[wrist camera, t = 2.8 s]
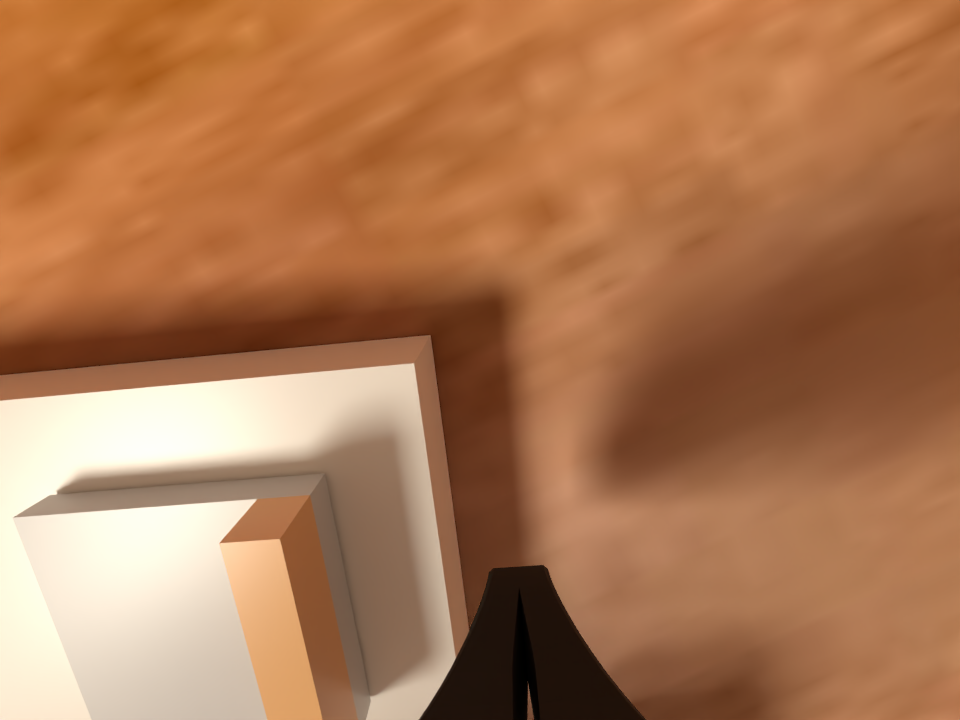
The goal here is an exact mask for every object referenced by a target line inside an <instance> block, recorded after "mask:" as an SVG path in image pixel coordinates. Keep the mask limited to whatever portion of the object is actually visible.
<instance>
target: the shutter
mask: <svg viewBox="0 0 960 720" xmlns="http://www.w3.org/2000/svg"><path fill="white" fill-rule="evenodd" d="M13 520H14V523H15V526H16V528H17V531H18V533H19V536H20V538H21V541H22V543H23V546H24V549H25V551H26V554H27V556H28V559H29V561H30V564H31V566H32V569H33V572H34V574H35V577H36V579H37V582H38V584H39V587H40V589H41V592H42V594H43V597H44V600H45V602H46V605H47V607H48V610H49V612H50V615H51V617H52V620H53V623H54V625H55V628H56V630H57V633H58V635H59V638H60V640H61V643H62V646H63V648H64V651H65V653H66V656H67V658H68V661H69V663H70V666H71V668H72V671H73V674H74V676H75V679H76V681H77V684H78V686H79V689H80V691H81V694H82V697H83V699H84V702H85V704H86V707H87V709H88V712H89V714H90V717H91V720H366V718H367V714H368V710H369V706H370V703H371V699H370V694H369V689H368V684H367V679H366V674H365V669H364V664H363V659H362V654H361V649H360V644H359V639H358V634H357V629H356V624H355V619H354V615H353V610H352V605H351V600H350V595H349V590H348V585H347V580H346V575H345V570H344V565H343V560H342V555H341V550H340V545H339V540H338V535H337V530H336V525H335V520H334V515H333V510H332V505H331V500H330V496H329V491H328V486H327V481H326V476H325V473H321V474H308V475H296V476H283V477H270V478H257V479H245V480H232V481H219V482H207V483H194V484H181V485H169V486H156V487H143V488H131V489H118V490H105V491H93V492H80V493H67V494H55V495H49V496H47V497H46V498H44V499H42V500H41V501H39V502H37V503H36V504H34V505H33V506H31V507H29V508H28V509H26V510H24V511H23V512H21V513H19V514H18V515H16V516H14V517H13Z"/></svg>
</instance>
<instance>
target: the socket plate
mask: <svg viewBox="0 0 960 720" xmlns="http://www.w3.org/2000/svg"><path fill="white" fill-rule="evenodd" d="M321 473H325V476H326V481H327V486H328V491H329V496H330V500H331V505H332V510H333V515H334V520H335V525H336V530H337V535H338V540H339V545H340V550H341V555H342V560H343V565H344V570H345V575H346V580H347V585H348V590H349V595H350V600H351V605H352V610H353V615H354V619H355V624H356V629H357V634H358V639H359V644H360V649H361V654H362V659H363V664H364V669H365V674H366V679H367V684H368V689H369V694H370V699H371V703H370V706H369V710H368V714H367V718H366V720H419V719H420V717H421V716H422V714H423V713H424V711H425V710H426V708H427V707H428V705H429V704H430V702H431V701H432V699H433V697H434V696H435V694H436V693H437V691H438V689H439V688H440V686H441V684H442V683H443V681H444V679H445V678H446V676H447V674H448V672H449V670H450V669H451V667H452V665H453V663H454V661H455V659H456V657H457V655H458V653H459V651H460V649H461V647H462V645H463V643H464V641H465V639H466V637H467V635H468V632H469V625H468V617H467V610H466V602H465V594H464V587H463V579H462V571H461V564H460V556H459V548H458V541H457V533H456V525H455V518H454V510H453V502H452V495H451V487H450V479H449V472H448V464H447V456H446V449H445V441H444V433H443V426H442V418H441V410H440V402H439V395H438V387H437V379H436V372H435V364H434V356H433V349H432V341H431V335H424V336H414V337H403V338H392V339H382V340H371V341H360V342H350V343H339V344H328V345H318V346H307V347H296V348H285V349H275V350H264V351H253V352H243V353H232V354H221V355H211V356H200V357H189V358H179V359H168V360H157V361H147V362H136V363H125V364H115V365H104V366H93V367H83V368H72V369H61V370H51V371H40V372H29V373H19V374H8V375H0V720H91V717H90V714H89V712H88V709H87V707H86V704H85V702H84V699H83V697H82V694H81V691H80V689H79V686H78V684H77V681H76V679H75V676H74V674H73V671H72V668H71V666H70V663H69V661H68V658H67V656H66V653H65V651H64V648H63V646H62V643H61V640H60V638H59V635H58V633H57V630H56V628H55V625H54V623H53V620H52V617H51V615H50V612H49V610H48V607H47V605H46V602H45V600H44V597H43V594H42V592H41V589H40V587H39V584H38V582H37V579H36V577H35V574H34V572H33V569H32V566H31V564H30V561H29V559H28V556H27V554H26V551H25V549H24V546H23V543H22V541H21V538H20V536H19V533H18V531H17V528H16V526H15V523H14V520H13V517H14V516H16V515H18V514H19V513H21V512H23V511H24V510H26V509H28V508H29V507H31V506H33V505H34V504H36V503H37V502H39V501H41V500H42V499H44V498H46V497H47V496H49V495H55V494H67V493H80V492H93V491H105V490H118V489H131V488H143V487H156V486H169V485H181V484H194V483H207V482H219V481H232V480H245V479H257V478H270V477H283V476H296V475H308V474H321Z"/></svg>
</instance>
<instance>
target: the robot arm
mask: <svg viewBox="0 0 960 720" xmlns="http://www.w3.org/2000/svg"><path fill="white" fill-rule="evenodd" d="M528 684H529V691H530V697H531V703H532V709H533V715H534V720H646V719H645V718H644V717H643V716H642V715H641V714H640V712H639V711H638V710H637V709H636V708H635V707H634V705H633V704H632V703H631V702H630V701H629V700H628V698H627V697H626V696H625V695H624V694H623V692H622V691H621V690H620V689H619V688H618V686H617V685H616V684H615V683H614V681H613V680H612V679H611V677H610V676H609V675H608V674H607V672H606V671H605V670H604V668H603V667H602V665H601V664H600V663H599V661H598V660H597V658H596V657H595V656H594V654H593V653H592V651H591V650H590V648H589V647H588V645H587V644H586V642H585V641H584V639H583V638H582V636H581V635H580V633H579V631H578V630H577V628H576V626H575V625H574V623H573V621H572V620H571V618H570V616H569V615H568V613H567V611H566V609H565V607H564V606H563V604H562V602H561V600H560V598H559V596H558V594H557V592H556V590H555V587H554V585H553V583H552V580H551V578H550V575H549V572H548V569H547V568H546V567H545V566H543V565H538V566H523V567H508V568H493V569H492V570H491V571H490V572H489V576H488V581H487V584H486V588H485V591H484V594H483V597H482V600H481V603H480V606H479V608H478V611H477V613H476V616H475V618H474V621H473V623H472V625H471V628H470V630H469V632H468V635H467V637H466V639H465V641H464V643H463V645H462V647H461V649H460V651H459V653H458V655H457V657H456V659H455V661H454V663H453V665H452V667H451V669H450V670H449V672H448V674H447V676H446V678H445V679H444V681H443V683H442V684H441V686H440V688H439V689H438V691H437V693H436V694H435V696H434V697H433V699H432V701H431V702H430V704H429V705H428V707H427V708H426V710H425V711H424V713H423V714H422V716H421V717H420V719H419V720H527V705H528Z"/></svg>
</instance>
